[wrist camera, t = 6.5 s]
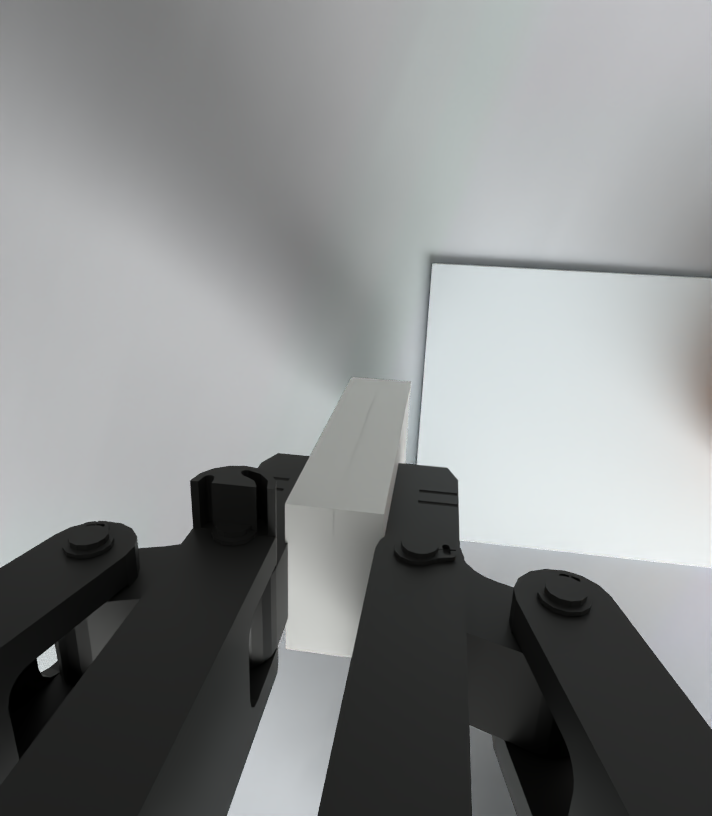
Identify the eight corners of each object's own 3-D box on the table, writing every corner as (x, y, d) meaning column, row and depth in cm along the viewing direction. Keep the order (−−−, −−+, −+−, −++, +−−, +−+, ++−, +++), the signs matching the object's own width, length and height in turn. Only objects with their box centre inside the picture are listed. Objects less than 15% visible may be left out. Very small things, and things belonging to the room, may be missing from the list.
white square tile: (411, 531, 18) (411, 535, 18) (432, 262, 16) (432, 264, 16) (727, 565, 17) (730, 569, 17) (809, 283, 15) (813, 284, 14)
